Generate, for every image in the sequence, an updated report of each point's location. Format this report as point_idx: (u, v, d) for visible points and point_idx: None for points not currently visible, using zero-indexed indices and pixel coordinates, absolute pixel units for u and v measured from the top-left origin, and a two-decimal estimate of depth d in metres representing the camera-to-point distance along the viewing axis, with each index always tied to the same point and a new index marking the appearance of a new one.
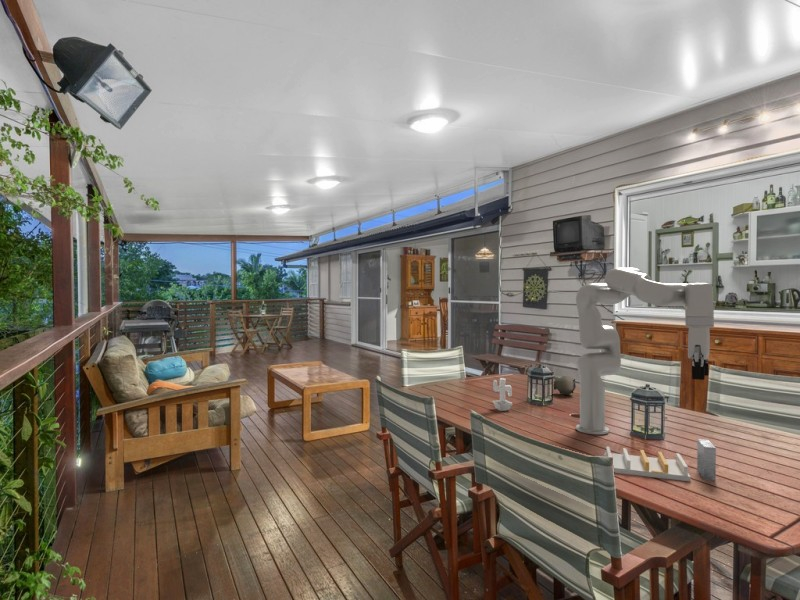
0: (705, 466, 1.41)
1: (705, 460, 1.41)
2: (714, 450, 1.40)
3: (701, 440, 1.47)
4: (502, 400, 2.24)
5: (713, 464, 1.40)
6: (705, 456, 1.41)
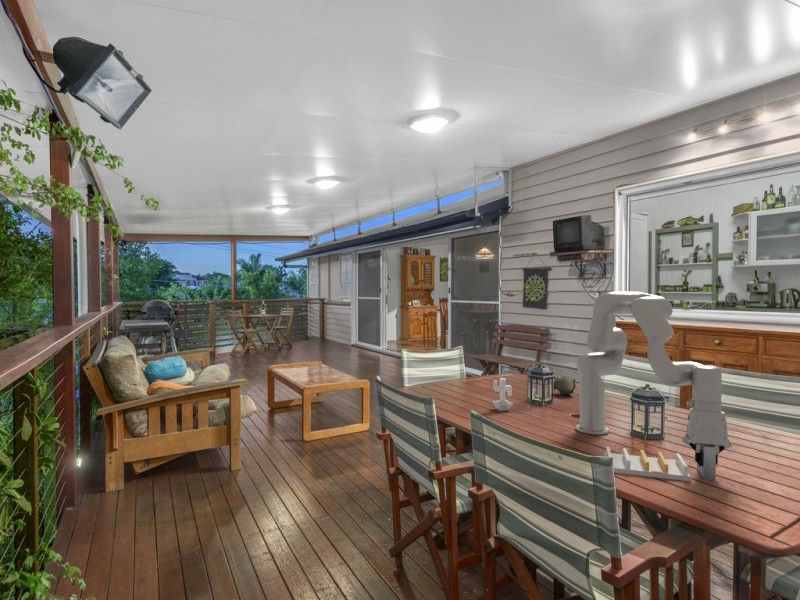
0: (705, 466, 1.41)
1: (705, 460, 1.41)
2: (714, 450, 1.40)
3: None
4: (502, 400, 2.24)
5: (714, 464, 1.40)
6: (705, 456, 1.41)
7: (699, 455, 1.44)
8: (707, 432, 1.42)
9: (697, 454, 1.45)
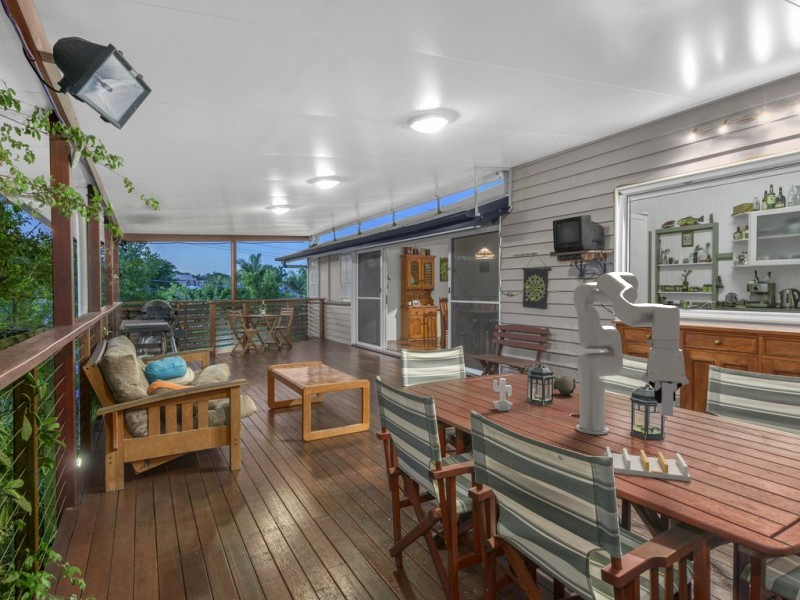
0: (663, 402, 1.45)
1: (663, 396, 1.45)
2: (672, 386, 1.44)
3: None
4: (502, 400, 2.24)
5: (671, 400, 1.44)
6: (663, 392, 1.45)
7: (658, 393, 1.47)
8: (665, 369, 1.45)
9: (656, 392, 1.48)
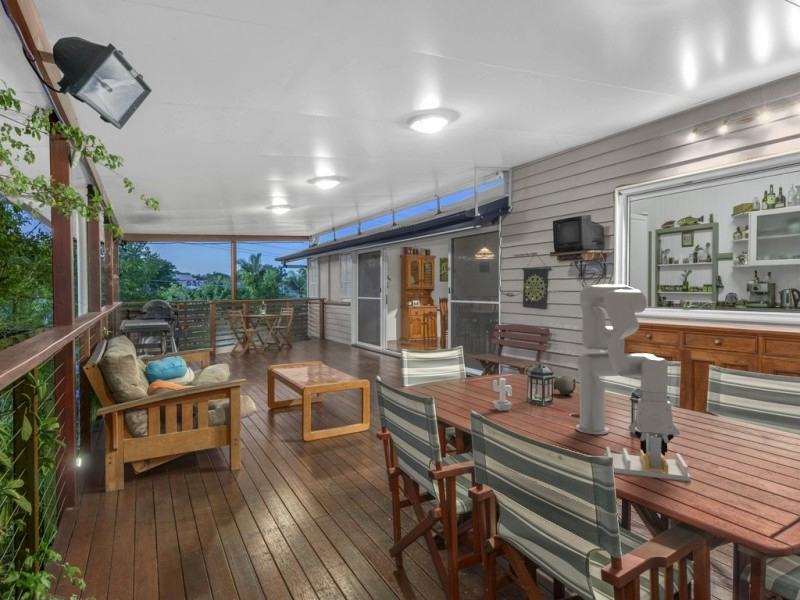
0: (651, 455, 1.46)
1: (651, 450, 1.46)
2: (659, 440, 1.45)
3: None
4: (502, 400, 2.24)
5: (659, 453, 1.45)
6: (651, 446, 1.46)
7: (643, 443, 1.49)
8: (653, 421, 1.47)
9: (642, 442, 1.50)
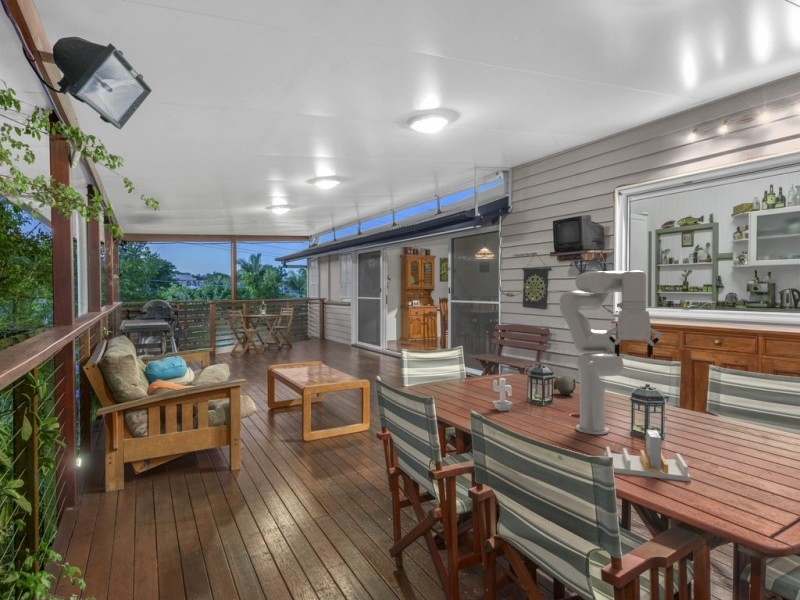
0: (651, 455, 1.46)
1: (651, 450, 1.46)
2: (659, 440, 1.45)
3: (649, 431, 1.52)
4: (502, 400, 2.24)
5: (659, 453, 1.45)
6: (651, 446, 1.46)
7: (617, 347, 1.62)
8: (632, 328, 1.59)
9: (615, 346, 1.63)
